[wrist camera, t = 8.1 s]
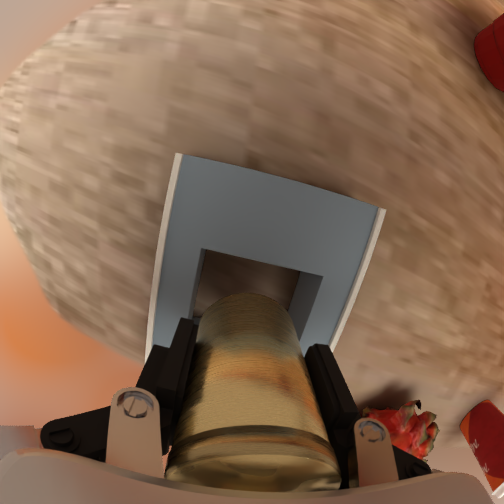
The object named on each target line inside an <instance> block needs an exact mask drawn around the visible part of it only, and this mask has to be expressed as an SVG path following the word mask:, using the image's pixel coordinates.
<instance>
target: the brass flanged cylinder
mask: <svg viewBox="0 0 504 504" xmlns="http://www.w3.org/2000/svg"><path fill="white" fill-rule="evenodd" d="M164 479H167V480H172V481H177V482H182V483H187V484H193V485H199V486H205V487H212V488H220V489H230V490H241V491H255V492H316V491H331V490H338V489H339V487H340V484H341V481H342V476H341V472H340V469H339V465H338V462H337V459H336V455H335V452H334V449H333V447H332V446H331V444H330V442H329V438H328V435H327V431H326V428H325V425H324V421H323V418H322V415H321V411H320V408H319V405H318V402H317V398H316V395H315V392H314V388H313V385H312V382H311V379H310V375H309V372H308V369H307V366H306V362H305V359H304V356H303V353H302V350H301V347H300V343H299V340H298V337H297V334H296V331H295V328H294V324H293V321H292V319H291V317H290V315H289V313H288V312H287V311H286V309H285V308H284V307H283V306H282V305H281V304H279V303H278V302H277V301H275V300H273V299H271V298H269V297H266V296H264V295H260V294H254V293H238V294H233V295H229V296H227V297H224V298H222V299H220V300H218V301H217V302H215V303H214V304H212V305H211V306H210V307H209V308H208V309H207V310H206V311H205V313H204V314H203V316H202V318H201V320H200V323H199V328H198V333H197V339H196V344H195V348H194V352H193V357H192V361H191V366H190V370H189V375H188V379H187V384H186V389H185V393H184V398H183V403H182V407H181V412H180V416H179V418H178V420H177V424H176V428H175V433H174V438H173V443H172V448H171V451H170V452H169V454H168V458H167V463H166V469H165V473H164Z"/></svg>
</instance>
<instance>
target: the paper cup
mask: <svg viewBox="0 0 504 504" xmlns="http://www.w3.org/2000/svg"><path fill="white" fill-rule="evenodd" d="M460 428H461V431H462V433H463V434H464V436H465V438H466V440H467V442H468V444H469V446H470V447H471V449H472V451H473V453H474V455H475V457H476V459H477V460H478V462H479V464H480V466H481V468H482V470H483V472H484V474H485V476H486V478H487V480H488V482H489V484H490V486H491V488H492V490H493V493H492V495H495V496H496V497H497V498H500V497H502V496H503V495H504V414H503V413H502V412H501V411H500V410H499V409H498V408H497V407H496V406H495V405H494V404H493V403H492V402H490V401H489V400H485V401H483V402H481V403H479V404H478V405H477V406H475V407H474V408H473V409H472V410H471V411H470V412H469V413H468V414H467V415H466V416H465V418H464V419H463V421H462V422H461V425H460Z"/></svg>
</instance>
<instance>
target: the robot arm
mask: <svg viewBox="0 0 504 504" xmlns="http://www.w3.org/2000/svg"><path fill="white" fill-rule="evenodd" d="M198 328H199V325H196V324H194V320H191V319H187V318H183V317H181V318H180V320H179V323H178V326H177V329H176V331H175V334H174V337H173V340H172V343H171V345H170V348H168V347H164V346H160V345H156V344H154V345H153V347H152V349H151V351H150V354H149V356H148V358H147V361H146V363H145V365H144V368H143V370H142V372H141V375H140V377H139V380H138V382H137V384H136V387H128V388H123V389H121V390H119V391H117V392H116V393H115V394H114V396H113V398H112V402H111V406H108V407H105V408H101V409H97V410H93V411H89V412H85V413H81V414H77V415H74V416H69V417H65V418H60V419H56V420H53V421H50V422H48V423H47V424H45V425H44V426H43V428H39V429H35V428H34V426H0V504H494V502H493V501H492V499H491V497H490V495H489V494H488V492H487V491H486V489H485V488H484V486H483V485H482V484H481V483H480V481H479V480H478V479H477V478H476V477H474V476H472V475H469V474H465V473H457V472H442V471H439V470H436V469H432V470H431V469H430V467H429V465H428V464H427V463H426V462H424V461H423V460H421V459H419V458H417V457H415V456H413V455H411V454H409V453H407V452H405V451H404V450H402V449H400V448H398V447H396V446H394V445H392V444H391V439H390V435H389V432H388V429H387V428H386V427H385V425H384V424H382V423H381V422H379V421H377V420H375V419H372V418H361V416H360V414H359V411H358V409H357V407H356V404H355V402H354V400H353V398H352V395H351V393H350V391H349V389H348V386H347V384H346V382H345V380H344V378H343V375H342V373H341V371H340V369H339V367H338V364H337V362H336V360H335V358H334V356H333V353H332V351H331V349H330V347H329V345H325V344H318V343H315V344H314V345H313V346H309V348H308V350H307V352H306V354H305V357H304V359H305V362H306V366H307V369H308V372H309V375H310V379H311V382H312V385H313V388H314V392H315V395H316V398H317V402H318V405H319V408H320V411H321V415H322V418H323V421H324V425H325V428H326V431H327V435H328V438H329V442H330V444H331V446H332V447H333V449H334V452H335V455H336V459H337V462H338V465H339V469H340V472H341V476H342V481H341V484H340V487H339V489H338V490H331V491H316V492H255V491H241V490H230V489H220V488H212V487H205V486H199V485H193V484H187V483H182V482H177V481H172V480H167V479H164V470H163V461H162V456H163V455H166V454H167V453H168V451H169V446H172V443H173V438H174V433H175V428H176V424H177V420H178V418H179V416H180V412H181V407H182V403H183V398H184V393H185V389H186V384H187V379H188V375H189V370H190V366H191V361H192V357H193V352H194V348H195V344H196V339H197V333H198Z"/></svg>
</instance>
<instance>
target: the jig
mask: <svg viewBox="0 0 504 504" xmlns="http://www.w3.org/2000/svg"><path fill="white" fill-rule="evenodd" d="M385 213H386V209H383V208H380V207H377V206H374V205H371V204H368V203H365V202H362V201H359V200H356V199H353V198H350V197H347V196H344V195H341V194H338V193H335V192H331V191H328V190H325V189H322V188H318V187H315V186H312V185H308V184H305V183H301V182H298V181H294V180H290V179H287V178H283V177H279V176H276V175H272V174H268V173H264V172H260V171H256V170H252V169H248V168H244V167H240V166H236V165H232V164H227V163H223V162H218V161H214V160H209V159H205V158H200V157H195V156H190V155H185V154H180V153H176V154H175V159H174V163H173V167H172V172H171V176H170V181H169V186H168V191H167V195H166V200H165V206H164V211H163V216H162V222H161V228H160V233H159V239H158V246H157V252H156V259H155V266H154V273H153V281H152V289H151V297H150V306H149V316H148V326H147V338H146V351H145V363H146V361H147V358H148V356H149V354H150V351H151V349H152V347H153V345H154V344H156V345H160V346H164V347H168V348H170V345H171V343H172V340H173V337H174V334H175V331H176V329H177V326H178V323H179V320H180V318H181V317H183V318H187V319H191V320H194V324H196V325H199V323H200V320H201V318H197V317H193V312H194V307H195V301H196V296H197V291H198V286H199V281H200V276H201V271H202V266H203V262H204V257H205V252H206V249H208V250H212V251H216V252H221V253H225V254H229V255H233V256H238V257H242V258H246V259H251V260H255V261H259V262H264V263H268V264H272V265H277V266H281V267H285V268H290V269H294V270H299V271H301V273H300V276H299V279H298V282H297V285H296V288H295V291H294V294H293V297H292V300H291V303H290V306H289V309H288V313H289V315H290V317H291V319H292V321H293V324H294V328H295V331H296V334H297V337H298V340H299V343H300V347H301V350H302V353H303V356H304V357H305V354H306V352H307V350H308V348H309V346H313V345H314V344H315V343H318V344H325V345H329V347H330V349H331V351H332V353H333V351H334V349H335V346H336V344H337V342H338V340H339V337H340V335H341V333H342V331H343V328H344V326H345V324H346V321H347V319H348V317H349V314H350V312H351V309H352V307H353V304H354V302H355V299H356V297H357V294H358V292H359V289H360V287H361V284H362V281H363V279H364V276H365V273H366V271H367V268H368V265H369V262H370V259H371V257H372V254H373V251H374V248H375V245H376V242H377V239H378V236H379V233H380V229H381V226H382V223H383V220H384V217H385Z"/></svg>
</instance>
